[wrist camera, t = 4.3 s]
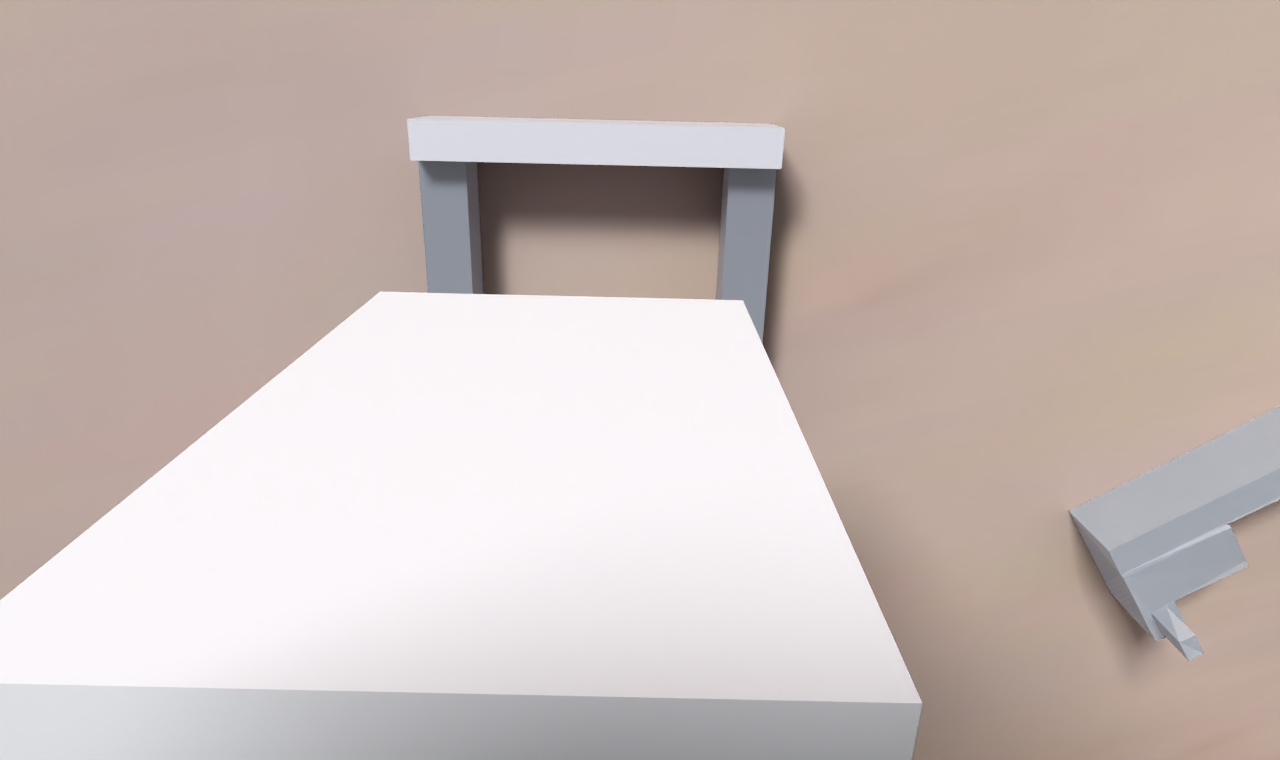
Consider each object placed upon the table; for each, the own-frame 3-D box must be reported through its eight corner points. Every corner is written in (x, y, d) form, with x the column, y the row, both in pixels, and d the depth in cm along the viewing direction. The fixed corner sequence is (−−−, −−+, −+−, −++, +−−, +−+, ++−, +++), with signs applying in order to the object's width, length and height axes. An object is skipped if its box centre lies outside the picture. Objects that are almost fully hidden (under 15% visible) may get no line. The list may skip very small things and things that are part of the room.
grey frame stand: (748, 715, 24) (782, 914, 18) (446, 709, 23) (385, 907, 18) (802, 124, 18) (878, 144, 12) (398, 114, 18) (283, 130, 12)
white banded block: (711, 776, 11) (781, 1482, 6) (424, 770, 11) (201, 1470, 6) (747, 300, 9) (936, 707, 3) (375, 291, 9) (-117, 683, 3)
